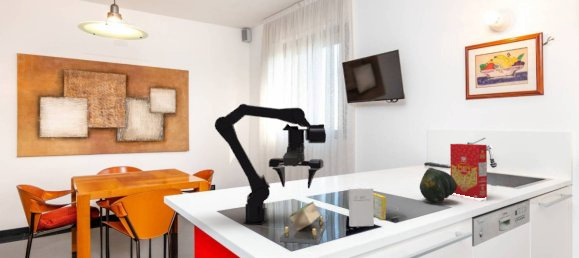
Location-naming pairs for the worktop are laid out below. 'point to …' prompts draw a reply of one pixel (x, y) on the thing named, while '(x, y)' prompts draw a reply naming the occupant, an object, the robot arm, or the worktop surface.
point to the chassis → (304, 233)
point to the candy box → (379, 206)
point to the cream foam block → (305, 216)
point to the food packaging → (469, 169)
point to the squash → (437, 185)
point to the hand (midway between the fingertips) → (296, 187)
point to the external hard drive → (361, 207)
